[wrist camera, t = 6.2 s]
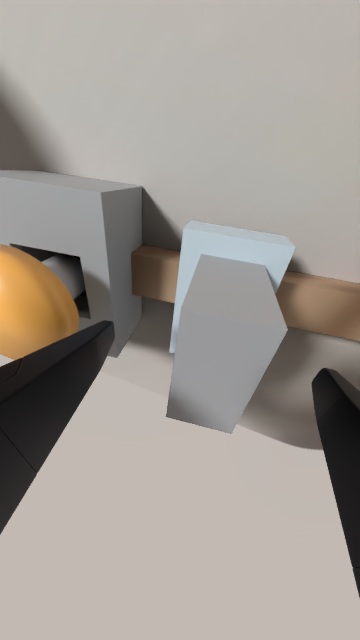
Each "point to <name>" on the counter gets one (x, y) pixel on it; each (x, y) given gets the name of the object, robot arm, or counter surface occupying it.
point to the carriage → (224, 321)
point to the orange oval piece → (37, 300)
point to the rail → (292, 294)
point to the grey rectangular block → (80, 238)
